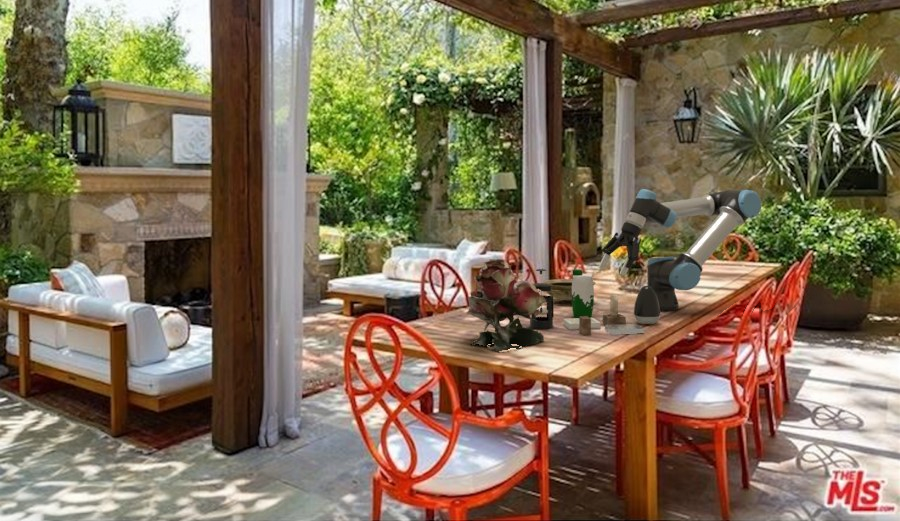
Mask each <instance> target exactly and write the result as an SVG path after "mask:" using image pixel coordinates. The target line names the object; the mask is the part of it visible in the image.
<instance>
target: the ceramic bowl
mask: <svg viewBox="0 0 900 521" xmlns="http://www.w3.org/2000/svg"><path fill="white" fill-rule="evenodd" d="M543 283H547V284H552V285H553V286H551V291H546V293H547V294H548V296H553V299H554V298H555V299H556V300H561V301H560V303H561V304H563V305H564V304H566V305H572V278H565V279H564V278H563V279H562V278H558V279H547V280H544V282H543ZM595 285H596V281H594V280H593V286H595Z"/></svg>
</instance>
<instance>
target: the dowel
mask: <svg viewBox="0 0 900 521" xmlns="http://www.w3.org/2000/svg"><path fill="white" fill-rule="evenodd" d="M609 301H610V302H609V311H610V312H609V314H610V317H618V314H619V295H617V294H610V296H609Z"/></svg>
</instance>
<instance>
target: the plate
mask: <svg viewBox="0 0 900 521" xmlns="http://www.w3.org/2000/svg"><path fill="white" fill-rule="evenodd" d="M605 330H606V333H608V332H609V334H610V333H611V334H612V336H622V335H621V334H629V335H638V334H637V333H644V334H645V328H644V327H642V326H641V325H638V324H636V323H628V324H627V323H626V324H619V325H604V331H605ZM611 334H610V335H611Z"/></svg>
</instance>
